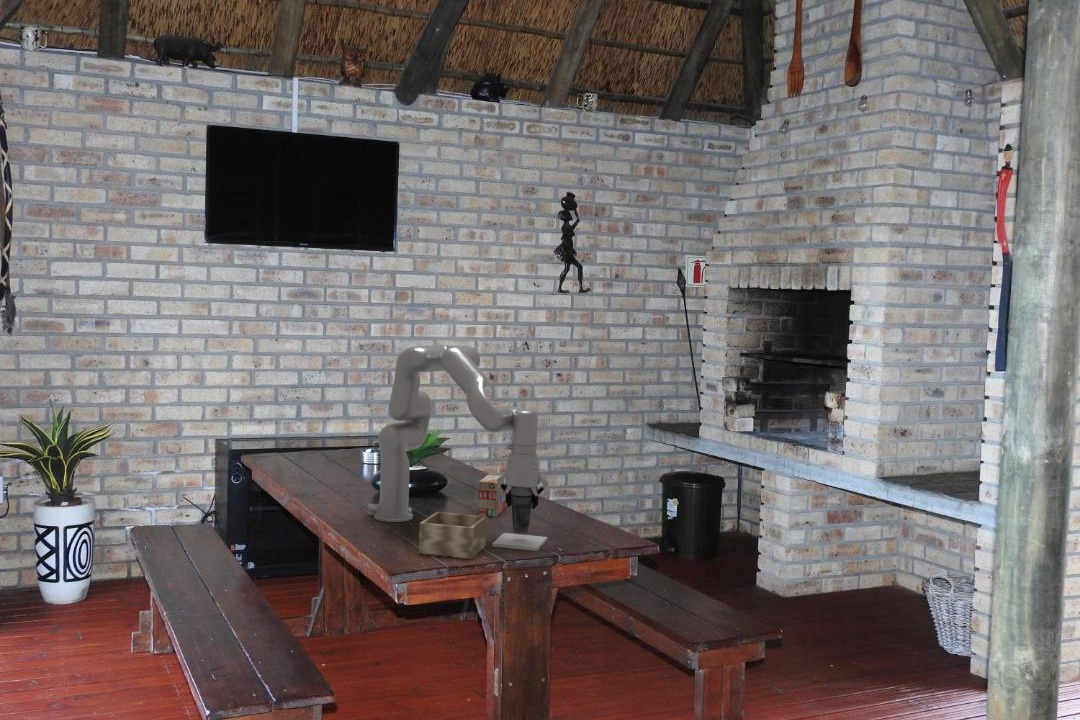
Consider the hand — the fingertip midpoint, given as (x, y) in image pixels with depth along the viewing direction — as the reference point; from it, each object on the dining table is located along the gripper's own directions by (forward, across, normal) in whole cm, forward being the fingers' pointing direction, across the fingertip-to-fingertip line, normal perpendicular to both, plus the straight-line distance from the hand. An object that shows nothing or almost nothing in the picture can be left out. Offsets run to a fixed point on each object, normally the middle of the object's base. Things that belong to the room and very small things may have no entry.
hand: (521, 506), depth 332 cm
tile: (+12, 0, 0) cm, 12 cm away
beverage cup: (+8, 0, 0) cm, 8 cm away
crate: (+12, -17, -15) cm, 25 cm away
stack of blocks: (+12, -19, +41) cm, 47 cm away
